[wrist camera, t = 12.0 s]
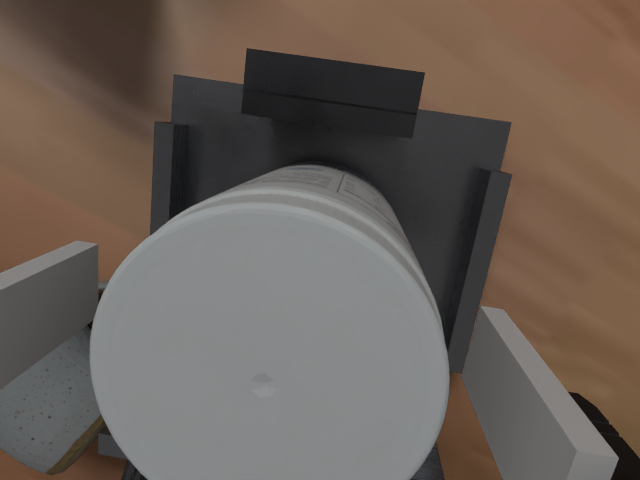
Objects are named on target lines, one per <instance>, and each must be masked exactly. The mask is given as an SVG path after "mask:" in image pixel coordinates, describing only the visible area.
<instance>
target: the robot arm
mask: <svg viewBox="0 0 640 480" xmlns="http://www.w3.org/2000/svg"><path fill="white" fill-rule="evenodd" d="M97 307H98V244H95V243H88V242H82V241H75V242H72V243H70V244H68V245H65V246H63V247H61V248H58V249H56V250H53V251H51V252H49V253H46V254H44V255H42V256H39V257H37V258H35V259H32V260H30V261H27V262H25V263H23V264H20V265H18V266H16V267H13V268H11V269H8V270H6V271H4V272H1V273H0V390H1V389H2V388H3V387H5V386H6V385H7V384H9V383H10V382H11V381H13V380H14V379H15V378H17V377H18V376H19V375H21V374H22V373H23V372H25V371H26V370H27V369H29V368H30V367H31V366H33V365H34V364H35V363H37V362H38V361H39V360H41V359H42V358H43V357H45V356H46V355H47V354H49V353H50V352H52V351H53V350H54V349H56V348H57V347H58V346H60V345H61V344H62V343H64V342H65V341H66V340H68V339H69V338H70V337H72V336H73V335H74V334H76V333H77V332H78V331H80V330H81V329H82V328H84V327H85V326H86V325H88V324H89V323H90V322H92V321H93V320H94V317H95V314H96V310H97ZM462 380H463V383H464V385H465V388H466V390H467V393H468V395H469V398H470V400H471V403H472V405H473V408H474V410H475V413H476V415H477V417H478V420H479V422H480V425H481V427H482V430H483V432H484V435H485V437H486V440H487V442H488V445H489V447H490V450H491V452H492V454H493V457H494V459H495V462H496V464H497V467H498V469H499V472H500V474H501V477H502V479H503V480H640V458H639V457H638V456H637V455H636V454H635V453H634V451H633V450H632V449H631V448H630V447H629V445H628V444H627V443H626V442H625V441H624V439H623V438H622V437H619V433H618V432H617V431H616V430H615V429H614V427H613V426H612V425H609V421H608V420H607V419H606V418H605V417H604V415H603V414H602V413H601V412H600V411H599V410H598V408H597V407H596V406H594V405H593V404H592V403H590V402H589V401H588V400H586V399H585V398H584V397H582V396H581V395H579V394H578V393H572V392H567V391H566V389H565V388H564V387H563V385H562V384H561V383H560V382H559V380H558V379H557V378H556V376H555V375H554V374H553V373H552V371H551V370H550V369H549V367H548V366H547V365H546V364H545V362H544V361H543V360H542V358H541V357H540V356H539V355H538V353H537V352H536V351H535V349H534V348H533V347H532V346H531V344H530V343H529V342H528V340H527V339H526V338H525V337H524V335H523V334H522V333H521V331H520V330H519V329H518V328H517V326H516V325H515V324H514V322H513V321H512V320H511V319H510V317H509V316H508V315H507V313H506V312H505V311H504V310H503V309H497V308H491V307H485V306H480V309H479V312H478V316H477V320H476V324H475V328H474V332H473V335H472V339H471V343H470V347H469V351H468V355H467V359H466V362H465V366H464V370H463V374H462Z"/></svg>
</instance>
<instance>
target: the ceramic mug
mask: <svg viewBox="0 0 640 480" xmlns="http://www.w3.org/2000/svg"><path fill="white" fill-rule="evenodd" d="M108 283H109V281H103V282H98V291H100V290H105V288H106V287H107V285H108ZM90 337H91V329H90V328H89V327H88V326H87V325H86V326H85V327H84V328H82V329H81V330H80V331H78V332H77V333H76V334H74V335H73V336H72V337H70V338H69V339H68V340H66V341H65V342H64V343H62V344H61V345H60V346H58V347H57V348H56V349H54V350H53V351H52V352H50V353H49V354H47V355H46V356H45V357H43V358H42V359H41V360H39V361H38V362H37V363H35V364H34V365H33V366H31V367H30V368H29V369H27V370H26V371H25V372H23V373H22V374H21V375H19V376H18V377H17V378H15V379H14V380H13V381H11V382H10V383H9V384H7V385H6V386H5V387H3V388H2V389H1V390H0V449H1V450H3V451H4V452H6V453H7V454H9V455H10V456H12V457H13V458H14V459H16V460H18V461H19V462H21V463H23V464H24V465H26V466H28V467H30V468H32V469H34V470H37V471H39V472H42V473H44V474H48V475H54V474H58V473H61V472H64V471H65V470H66V469H67V468H68V467H69V466H71V465H72V464H73V463H74V462H75V461H76V460H77V459H78V458H79V457H80V455H81V454H82V453H83V452H84V451H85V450H86V449H87V448H88V447H89V446H90V445H91V443H92V442H93V441H94V440H95V439H96V438H97V437H98V433H99V432H100V431H101V430H102V428H103V427H104V426H105V425H106V423H105V421H104V419H103V417H102V415H101V413H100V410H99V407H98V404H97V400H96V397H95V393H94V389H93V385H92V379H91V370H90Z"/></svg>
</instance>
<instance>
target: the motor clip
mask: <svg viewBox="0 0 640 480" xmlns="http://www.w3.org/2000/svg"><path fill="white" fill-rule="evenodd" d="M424 75H425V73H423V72H416V71H409V70H401V69H394V68H387V67H379V66H372V65H365V64H358V63H350V62H343V61H336V60H328V59H321V58H314V57H307V56H299V55H292V54H285V53H277V52H270V51H263V50H256V49H248V48H247V52H246V63H245V74H244V84H237V83H230V82H223V81H216V80H209V79H202V78H195V77H188V76H181V75H174V80H173V100H172V120H171V122H155V128H154V152H153V176H152V200H151V225H150V236H151V235H152V234H153V233H155V232H156V231H157V230H158V229H159V228H160V227H162V226H163V225H164V224H166V223H167V222H168V221H169V220H171V219H172V218H173V217H175V216H176V215H178V214H180V213H181V212H183V211H185V210H186V209H188V208H190V207H191V206H193V205H196V204H198V203H200V202H202V201H204V200H206V199H208V198H211V197H213V196H215V195H218V194H220V193H222V192H224V191H227V190H229V189H231V188H233V187H236V186H238V185H240V184H243V183H245V182H248V181H250V180H252V179H255V178H257V177H260V176H262V175H264V174H267V173H269V172H272V171H274V170H277V169H279V168H282V167H285V166H288V165H291V164H295V163H301V162H313V161H314V162H327V163H333V164H337V165H340V166H344V167H346V168H348V169H350V170H352V171H354V172H356V173H358V174H360V175H361V176H363V177H364V178H366V179H367V180H369V181H370V182H371V183H372V184H373V185H374V186H376V187H377V189H378V190H379V191H380V192H381V193H382V194H383V196H384V197H385V198H386V200H387V201H388V203H389V204H390V206H391V208H392V209H393V212H394V214H395V215H396V218H397V219H398V221H399V223H400V225H401V227H402V229H403V232H404V234H405V236H406V238H407V240H408V242H409V244H410V246H411V248H412V250H413V252H414V254H415V256H416V258H417V260H418V262H419V265H420V267H421V269H422V271H423V273H424V276H425V278H426V280H427V283H428V285H429V287H430V289H431V292H432V294H433V296H434V298H435V301H436V304H437V308H438V311H439V314H440V317H441V321H442V327H443V333H444V341H445V345H446V349H447V353H448V362H449V375H450V371H451V372H456V373H462V371H463V367H464V363H465V359H466V355H467V351H468V347H469V343H470V339H471V335H472V331H473V327H474V323H475V319H476V316H477V312H478V308H479V304H480V300H481V296H482V292H483V288H484V284H485V280H486V276H487V272H488V268H489V264H490V260H491V256H492V252H493V248H494V244H495V240H496V237H497V233H498V229H499V225H500V221H501V217H502V213H503V209H504V205H505V201H506V197H507V193H508V189H509V185H510V181H511V177H512V174H509V173H505V172H502V171H500V168H501V163H502V159H503V155H504V151H505V147H506V143H507V139H508V135H509V131H510V127H511V123H512V122H505V121H498V120H491V119H484V118H477V117H470V116H463V115H456V114H449V113H442V112H435V111H428V110H420V109H418V106H419V101H420V96H421V91H422V85H423V80H424ZM98 454H101V455H106V456H111V457H116V458H121V459H127V462H126V465H125V469H124V472H123V476H122V479H121V480H148V479H147V478H145V477H144V476H143V475H142V474H141V473H140V472H139V471H138V470H137V468H136V467H135V466H134V465H133V464H132V463H131V462H130V460H129V459H128V458H127V457H126V455H125V454H124V453H123V451H122V450H121V448H120V447H119V446H118V444H117V443H116V441H115V440H114V438H113V436H112V435H111V433H110V431H109V429H108V427H107V425H105V426H104V427H103V428H102V430H101V431H100V432H99V433H98ZM410 480H445V479H444V475H443V471H442V466H441V462H440V458H439V454H438V449H437V445H436V442H435V444H434V446H433V448H432V450H431V452H430V453H429V455H428V456H427V458H426V460H425V461H424V463H423V464H422V465H421V467H420V468H419V469H418V471H417V472H416V473H415V474H414V475H413V476H412V478H411V479H410Z"/></svg>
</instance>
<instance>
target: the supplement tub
mask: <svg viewBox="0 0 640 480" xmlns="http://www.w3.org/2000/svg"><path fill="white" fill-rule="evenodd" d="M90 370H91V379H92V385H93V389H94V393H95V397H96V400H97V404H98V407H99V410H100V413H101V415H102V417H103V419H104V421H105V423H106V425H107V427H108V429H109V431H110V433H111V435H112V436H113V438H114V440H115V441H116V443H117V444H118V446H119V447H120V448H121V450H122V451H123V453H124V454H125V455H126V457H127V458H128V459H129V460H130V462H131V463H132V464H133V465H134V466H135V467H136V468H137V470H138V471H139V472H140V473H141V474H142V475H143V476H144V477H145V478H147V479H148V480H410V479H411V478H412V476H413V475H414V474H415V473H416V472H417V471H418V469H419V468H420V467H421V465H422V464H423V463H424V461H425V460H426V458H427V456H428V455H429V453H430V452H431V450H432V448H433V446H434V444H435V442H436V439H437V437H438V435H439V433H440V430H441V427H442V424H443V421H444V417H445V413H446V409H447V403H448V397H449V383H450V375H449V362H448V353H447V349H446V345H445V341H444V333H443V327H442V321H441V317H440V314H439V311H438V308H437V304H436V301H435V298H434V296H433V294H432V292H431V289H430V287H429V285H428V283H427V280H426V278H425V276H424V273H423V271H422V269H421V267H420V265H419V262H418V260H417V258H416V256H415V254H414V252H413V250H412V248H411V246H410V244H409V242H408V240H407V238H406V236H405V234H404V232H403V229H402V227H401V225H400V223H399V221H398V219H397V218H396V215H395V214H394V212H393V209H392V208H391V206H390V204H389V203H388V201H387V200H386V198H385V197H384V196H383V194H382V193H381V192H380V191H379V190H378V189H377V187H376V186H374V185H373V184H372V183H371V182H370V181H369V180H367V179H366V178H364V177H363V176H361V175H360V174H358V173H356V172H354V171H352V170H350V169H348V168H346V167H344V166H340V165H337V164H333V163H327V162H314V161H313V162H301V163H295V164H291V165H288V166H285V167H282V168H279V169H277V170H274V171H272V172H269V173H267V174H264V175H262V176H260V177H257V178H255V179H252V180H250V181H248V182H245V183H243V184H240V185H238V186H236V187H233V188H231V189H229V190H227V191H224V192H222V193H220V194H218V195H215V196H213V197H211V198H208V199H206V200H204V201H202V202H200V203H198V204H196V205H193V206H191V207H190V208H188V209H186V210H185V211H183V212H181V213H180V214H178V215H176V216H175V217H173V218H172V219H171V220H169V221H168V222H167V223H166V224H164V225H163V226H162V227H160V228H159V229H158V230H157V231H156V232H155V233H153V234H152V235H151V236H149V237H148V238H146V239H145V240H144V241H143V242H142V243H140V244H139V245H138V246H137V247H136V248H135V249H134V250H133V251H132V252H131V253H130V254H129V255H128V256H127V257H126V258H125V260H124V261H123V262H122V263H121V264H120V266H119V267H118V268H117V270H116V271H115V273H114V274H113V276H112V277H111V279H110V281H109V283H108V285H107V287H106V288H105V290H104V292H103V294H102V297H101V299H100V302H99V304H98V307H97V310H96V314H95V317H94V320H93V325H92V330H91V337H90Z"/></svg>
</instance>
